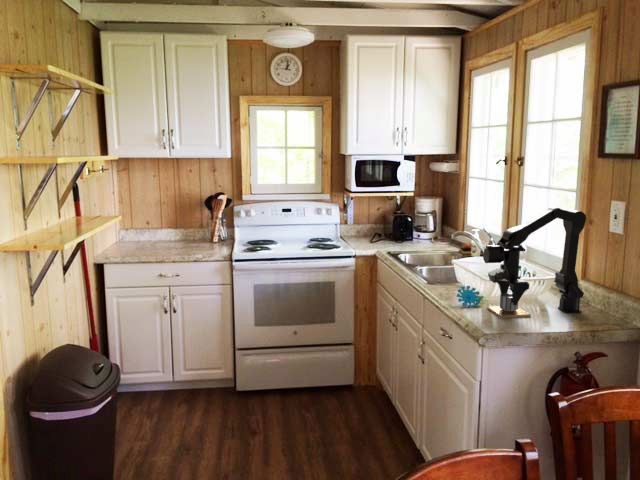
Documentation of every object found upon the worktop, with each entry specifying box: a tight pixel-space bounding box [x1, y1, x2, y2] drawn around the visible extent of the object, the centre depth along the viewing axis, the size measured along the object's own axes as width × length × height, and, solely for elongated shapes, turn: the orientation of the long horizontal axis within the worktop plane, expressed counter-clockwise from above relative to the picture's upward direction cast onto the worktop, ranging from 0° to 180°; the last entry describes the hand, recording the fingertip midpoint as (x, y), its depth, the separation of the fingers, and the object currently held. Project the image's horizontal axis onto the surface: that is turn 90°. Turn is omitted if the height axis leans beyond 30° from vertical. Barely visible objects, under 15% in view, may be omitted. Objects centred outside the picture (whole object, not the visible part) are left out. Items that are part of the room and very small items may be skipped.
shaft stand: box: [486, 305, 532, 319], centre depth 214 cm, size 12×12×6 cm
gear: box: [456, 285, 485, 309], centre depth 226 cm, size 11×6×10 cm
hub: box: [499, 292, 519, 310], centre depth 214 cm, size 7×7×5 cm
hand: (509, 301), depth 214 cm, fingers open, 9 cm apart
